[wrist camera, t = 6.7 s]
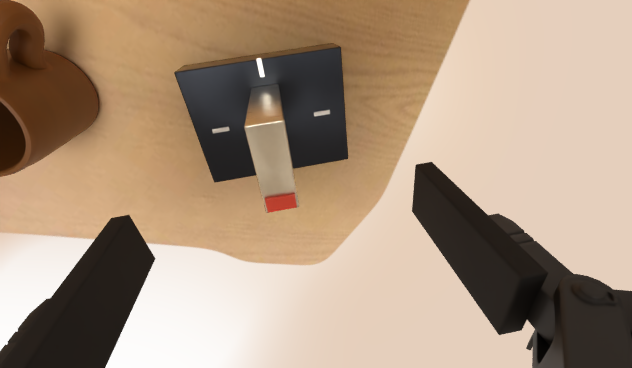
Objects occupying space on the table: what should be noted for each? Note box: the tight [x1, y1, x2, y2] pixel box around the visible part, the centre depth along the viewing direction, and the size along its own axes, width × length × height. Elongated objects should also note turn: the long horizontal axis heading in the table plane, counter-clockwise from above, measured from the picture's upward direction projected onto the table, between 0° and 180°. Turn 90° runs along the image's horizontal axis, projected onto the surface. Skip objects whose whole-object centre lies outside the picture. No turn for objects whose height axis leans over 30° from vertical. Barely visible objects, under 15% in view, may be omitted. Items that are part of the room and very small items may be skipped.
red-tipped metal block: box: [244, 84, 299, 213], centre depth 21 cm, size 6×2×9 cm, turn 6°
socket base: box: [174, 43, 348, 182], centre depth 26 cm, size 13×10×3 cm
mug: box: [0, 0, 98, 177], centre depth 19 cm, size 11×7×9 cm, turn 146°
